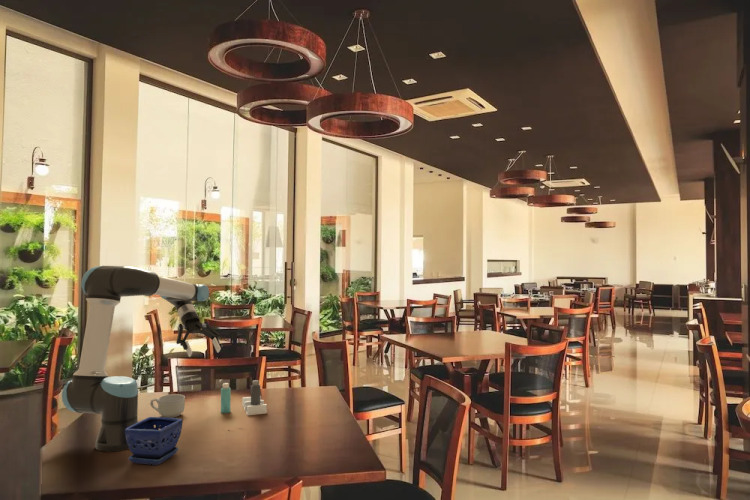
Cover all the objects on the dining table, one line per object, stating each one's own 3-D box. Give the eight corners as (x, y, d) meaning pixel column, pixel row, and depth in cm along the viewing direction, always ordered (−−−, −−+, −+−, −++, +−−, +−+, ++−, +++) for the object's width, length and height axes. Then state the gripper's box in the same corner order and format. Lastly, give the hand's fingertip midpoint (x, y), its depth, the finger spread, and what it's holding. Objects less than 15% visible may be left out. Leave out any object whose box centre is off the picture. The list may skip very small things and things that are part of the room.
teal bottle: (231, 415, 221) (231, 384, 221) (221, 416, 220) (221, 385, 220) (229, 412, 225) (230, 382, 225) (220, 413, 223) (220, 383, 224)
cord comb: (266, 415, 220) (266, 404, 220) (247, 417, 217) (247, 406, 217) (260, 405, 235) (260, 395, 235) (242, 407, 232) (242, 397, 232)
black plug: (261, 412, 222) (261, 381, 222) (251, 413, 220) (251, 382, 220) (259, 409, 225) (259, 379, 226) (250, 410, 224) (250, 380, 224)
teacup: (189, 412, 225) (189, 394, 225) (177, 420, 214) (177, 400, 214) (158, 412, 226) (158, 393, 227) (145, 419, 216) (145, 400, 216)
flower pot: (160, 468, 164) (160, 430, 164) (123, 465, 166) (123, 427, 166) (183, 453, 177) (184, 418, 177) (149, 450, 179) (149, 416, 179)
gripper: (210, 319, 251) (227, 354, 240) (159, 324, 233) (175, 362, 222) (216, 308, 247) (233, 343, 237) (165, 313, 229) (181, 350, 219)
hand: (205, 352), depth 229 cm, fingers open, 13 cm apart
